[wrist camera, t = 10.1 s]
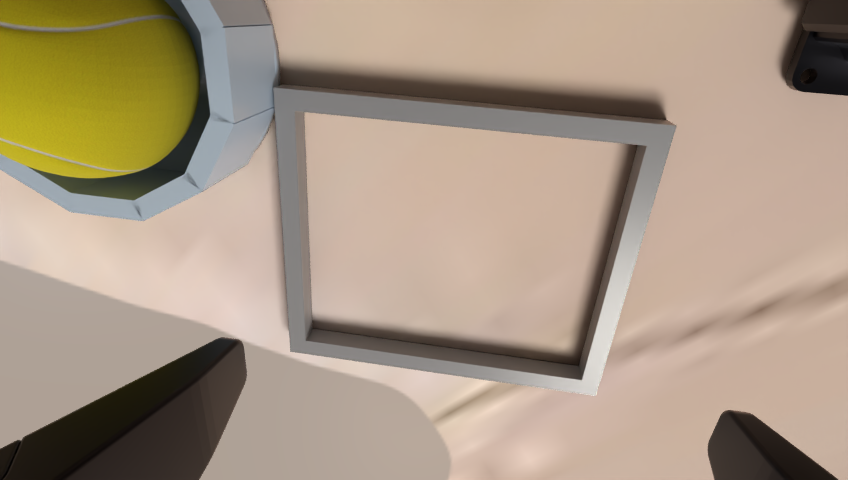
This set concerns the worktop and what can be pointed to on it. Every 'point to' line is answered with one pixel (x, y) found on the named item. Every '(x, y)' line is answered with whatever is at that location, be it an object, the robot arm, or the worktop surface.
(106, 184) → the bowl
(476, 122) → the grey square frame
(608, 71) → the worktop surface
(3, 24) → the tennis ball
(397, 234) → the worktop surface
